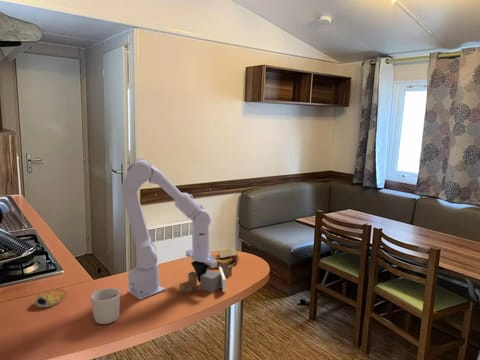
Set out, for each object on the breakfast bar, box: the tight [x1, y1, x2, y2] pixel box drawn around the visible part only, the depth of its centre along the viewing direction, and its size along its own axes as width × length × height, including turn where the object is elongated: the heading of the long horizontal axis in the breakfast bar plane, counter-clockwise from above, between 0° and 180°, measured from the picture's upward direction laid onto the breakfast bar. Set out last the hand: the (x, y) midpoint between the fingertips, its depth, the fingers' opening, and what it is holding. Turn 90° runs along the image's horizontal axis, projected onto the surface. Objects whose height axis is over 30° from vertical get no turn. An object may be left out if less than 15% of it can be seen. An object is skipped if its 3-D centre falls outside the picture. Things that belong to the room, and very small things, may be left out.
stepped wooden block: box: [179, 260, 233, 296], centre depth 129 cm, size 22×2×6 cm, turn 135°
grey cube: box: [199, 269, 221, 294], centre depth 127 cm, size 5×5×5 cm
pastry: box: [33, 287, 67, 308], centre depth 118 cm, size 9×7×4 cm
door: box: [218, 265, 227, 293], centre depth 128 cm, size 11×1×5 cm, turn 11°
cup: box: [89, 287, 121, 325], centre depth 108 cm, size 11×8×8 cm
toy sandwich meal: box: [209, 247, 240, 269], centre depth 148 cm, size 12×14×5 cm
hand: (201, 280), depth 129 cm, fingers closed
